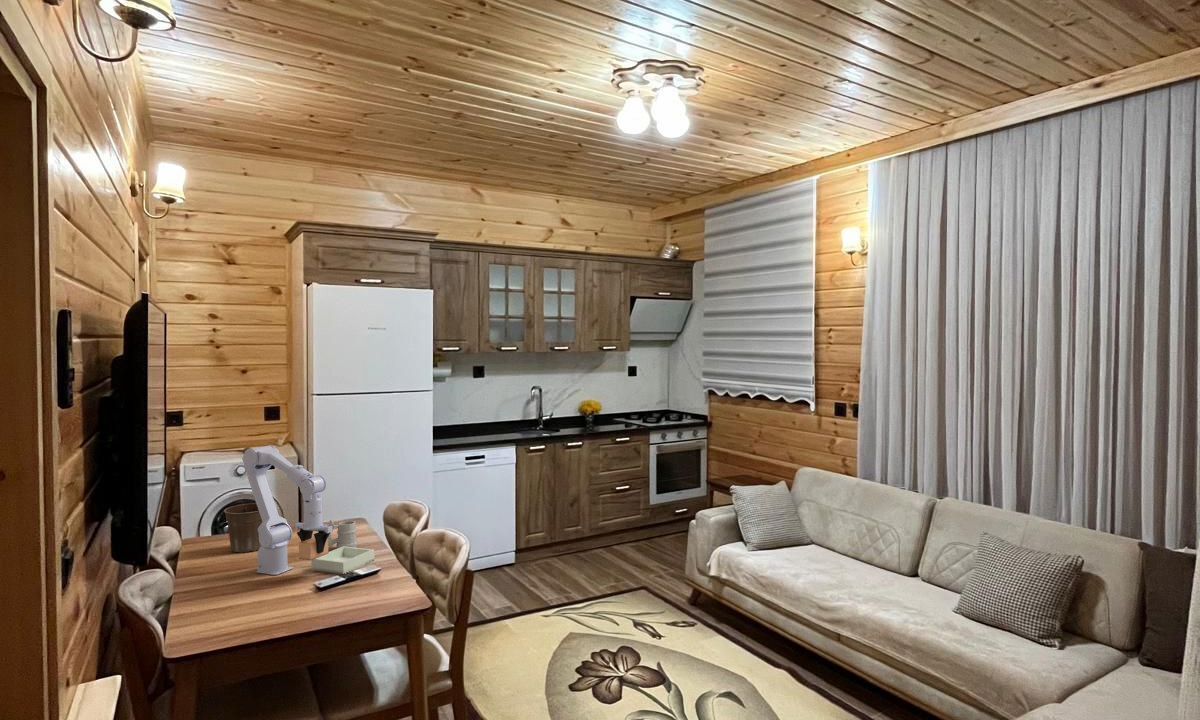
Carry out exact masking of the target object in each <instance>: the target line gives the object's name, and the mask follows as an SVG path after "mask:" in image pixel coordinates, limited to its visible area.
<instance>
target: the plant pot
mask: <svg viewBox="0 0 1200 720" xmlns="http://www.w3.org/2000/svg"><path fill="white" fill-rule="evenodd" d="M223 513H224V514H225V520H226V522H227V528H228V537H229V545H230V551H231V552H232V551H233V552H232V553H235V552H247V553H249V552H257V551H258V550H259V548H260V547H261V546H262V545H261V544H260V542H259V532H258V528H259V526H260V525H261V523H262V519H261V516H260V513H259V510H258V507H257V504H256V502H255V503H253V502H252V503H251V502H250V503H241V504H236V505H232V506H229V507H227V508H225V509H224V510H223ZM256 550H257V551H256Z"/></svg>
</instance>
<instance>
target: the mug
mask: <svg viewBox="0 0 1200 720" xmlns="http://www.w3.org/2000/svg"><path fill="white" fill-rule="evenodd" d="M356 524H357V523H356V521H354V520H346V521H341V522H339V523H338V524H336V525H335V523H334V521H333V519H329V525H328V526H332V532H333V531H334V530H335V529H337V532H336V534H337V538H335V539H332V537H331V536H332V535H331V534H332V532H330V534H329V536H328V549H331V548H332V547H333V546H334V545H335V544H336V547H337V549H338V548H340V547H343V546H346V547H354V548H358V547H357V545H358V540H357V530H358V529H357V526H356Z"/></svg>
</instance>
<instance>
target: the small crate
mask: <svg viewBox="0 0 1200 720" xmlns="http://www.w3.org/2000/svg"><path fill="white" fill-rule="evenodd" d="M328 552H329V546H328V538H327V540H326V543H325V546H324V551H323V552H322V553H319V554H318V553H317V546H316V540H315V537H314V536H313V537H312V538H311V539H308V540H305V541H303V542H301V541H299V542H298V559H299V560H303V561H304V560H305V561H311V560H313V559H316V558H318V557H321V556H324V555H326V554H328Z"/></svg>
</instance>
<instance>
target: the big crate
mask: <svg viewBox="0 0 1200 720" xmlns="http://www.w3.org/2000/svg"><path fill="white" fill-rule="evenodd" d="M310 561H311V571H315V572H317V571H318V572H324V573H331V574H338V575H345V574H347V573H346V572H348V573H350V572H352V571H354V570H356V569H359V568H361V567H363V566H365V565H368V564H370V563H372V562H375V549H370V548H363V547H362V548H361V547H356V548H354V547H346V546H343V547H340V548H338V547H337V548H335V549H333V550H331V551H328V554H326V555H324V556H321V557H318V558H316V559H313V560H310ZM371 561H372V562H371ZM367 563H368V564H367ZM349 571H350V572H349ZM344 573H345V574H344Z"/></svg>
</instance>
